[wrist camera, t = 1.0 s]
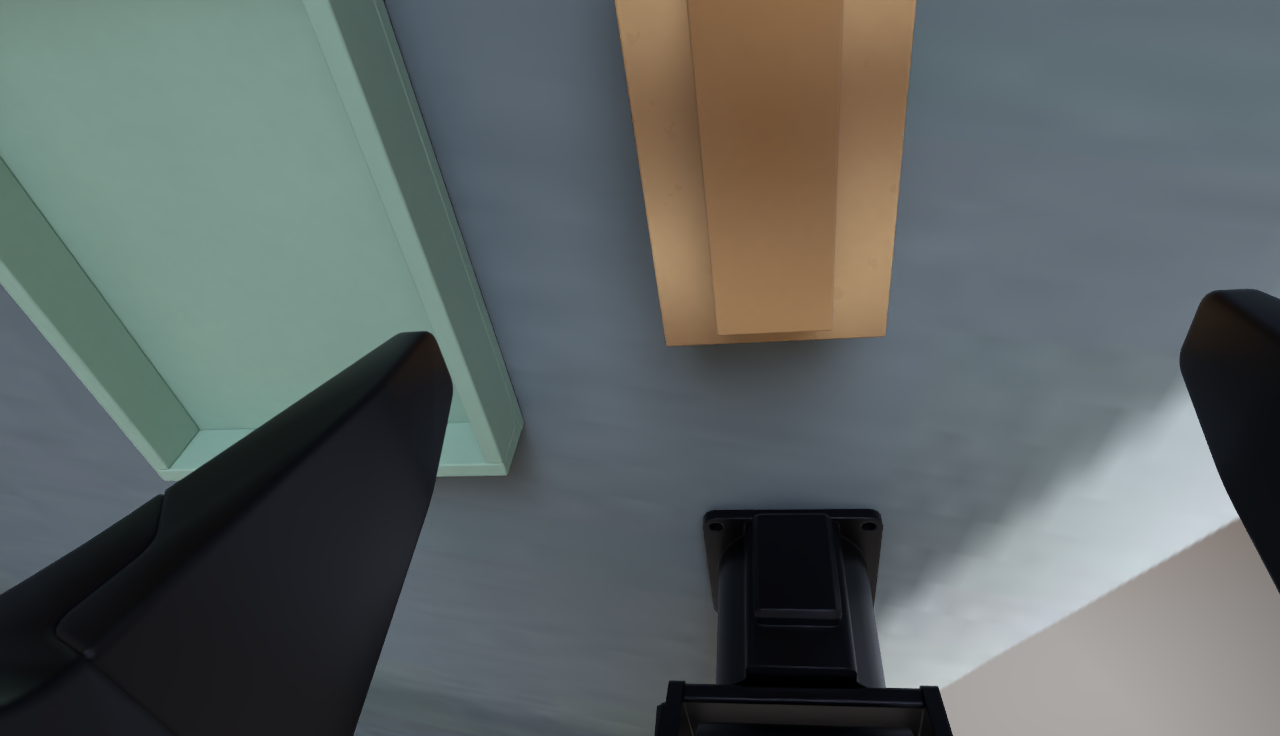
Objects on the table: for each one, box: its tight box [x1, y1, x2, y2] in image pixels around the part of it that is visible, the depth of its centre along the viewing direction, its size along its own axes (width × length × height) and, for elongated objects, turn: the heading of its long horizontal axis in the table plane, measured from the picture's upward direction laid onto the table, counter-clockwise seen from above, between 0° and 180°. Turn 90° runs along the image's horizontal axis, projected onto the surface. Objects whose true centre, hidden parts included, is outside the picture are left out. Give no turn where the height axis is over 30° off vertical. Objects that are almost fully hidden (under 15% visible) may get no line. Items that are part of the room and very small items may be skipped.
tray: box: [0, 0, 524, 481], centre depth 20 cm, size 18×13×2 cm
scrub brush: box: [614, 0, 917, 346], centre depth 15 cm, size 10×5×5 cm, turn 8°
